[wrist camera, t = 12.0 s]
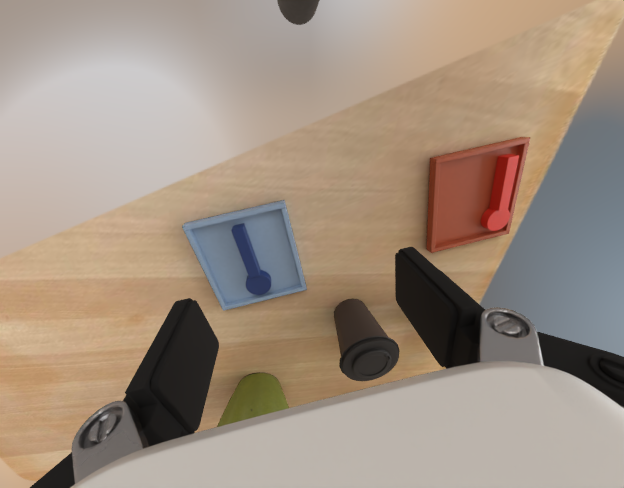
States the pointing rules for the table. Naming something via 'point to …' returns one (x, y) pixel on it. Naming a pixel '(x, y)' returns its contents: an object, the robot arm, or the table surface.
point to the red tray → (468, 193)
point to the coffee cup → (363, 342)
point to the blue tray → (266, 244)
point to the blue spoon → (251, 262)
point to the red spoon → (501, 193)
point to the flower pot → (254, 399)
